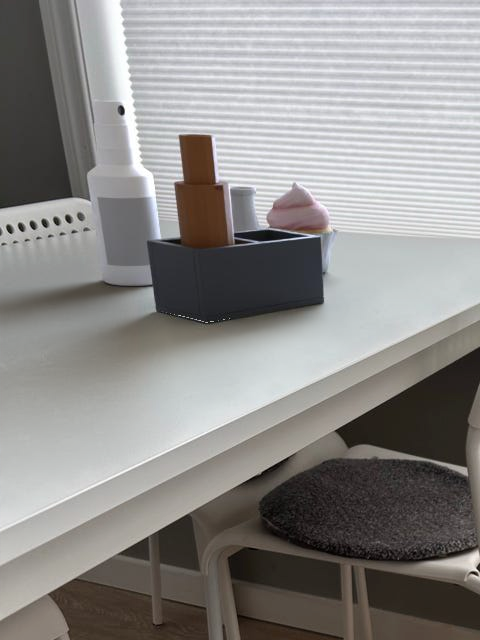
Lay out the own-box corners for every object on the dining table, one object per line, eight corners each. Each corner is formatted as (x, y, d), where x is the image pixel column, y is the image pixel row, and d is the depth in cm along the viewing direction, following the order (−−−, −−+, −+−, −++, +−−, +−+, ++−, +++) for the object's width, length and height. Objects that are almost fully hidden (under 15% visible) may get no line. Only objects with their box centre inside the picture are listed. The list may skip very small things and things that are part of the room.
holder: (155, 310, 95) (146, 240, 92) (274, 291, 106) (269, 227, 102) (206, 323, 91) (198, 250, 88) (324, 302, 102) (321, 236, 98)
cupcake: (288, 262, 123) (283, 177, 118) (352, 269, 120) (349, 182, 115) (248, 273, 115) (240, 182, 110) (315, 280, 112) (310, 187, 107)
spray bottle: (132, 289, 104) (104, 101, 95) (90, 281, 107) (60, 98, 98) (179, 281, 109) (157, 102, 100) (138, 273, 112) (113, 99, 103)
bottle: (178, 302, 95) (157, 133, 88) (218, 296, 99) (202, 133, 91) (209, 310, 92) (191, 137, 85) (250, 303, 96) (235, 136, 88)
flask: (292, 281, 111) (286, 187, 106) (255, 291, 106) (247, 192, 101) (242, 275, 114) (234, 183, 109) (203, 284, 108) (192, 187, 103)
